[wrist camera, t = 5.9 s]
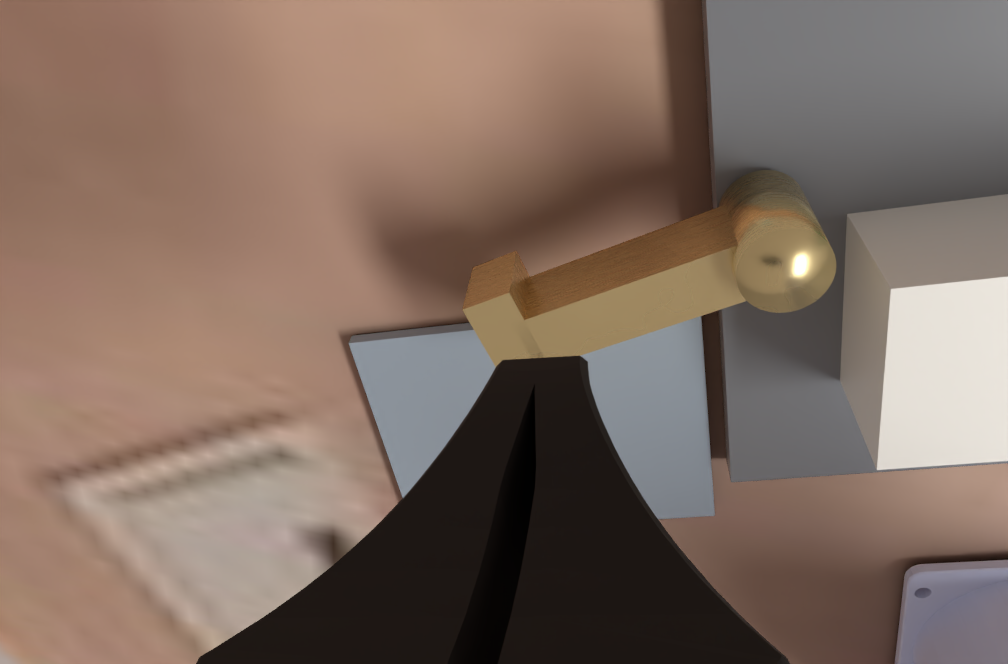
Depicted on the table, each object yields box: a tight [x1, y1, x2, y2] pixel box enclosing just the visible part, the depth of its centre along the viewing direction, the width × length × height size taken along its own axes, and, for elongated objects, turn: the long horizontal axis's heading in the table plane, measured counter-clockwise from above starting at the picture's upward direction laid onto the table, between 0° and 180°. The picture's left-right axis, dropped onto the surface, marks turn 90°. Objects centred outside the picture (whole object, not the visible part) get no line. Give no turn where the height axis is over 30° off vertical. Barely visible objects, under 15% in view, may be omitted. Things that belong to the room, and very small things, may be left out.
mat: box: [349, 316, 715, 519], centre depth 25 cm, size 8×10×1 cm
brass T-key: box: [462, 170, 836, 367], centre depth 19 cm, size 8×3×3 cm, turn 116°
